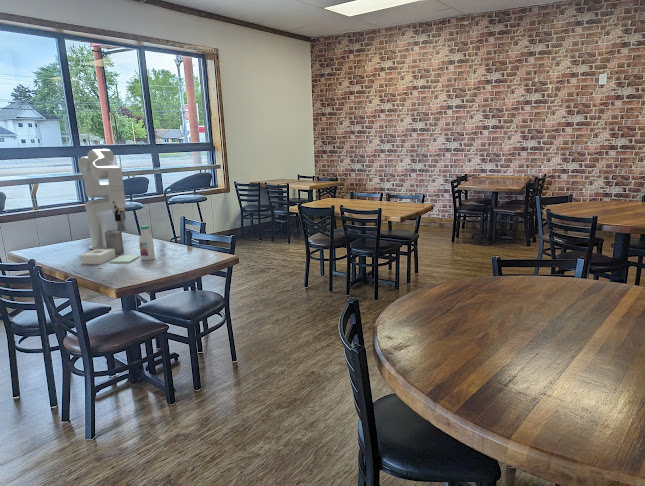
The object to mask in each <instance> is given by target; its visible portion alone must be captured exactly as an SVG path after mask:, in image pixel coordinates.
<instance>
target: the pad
mask: <svg viewBox="0 0 645 486" xmlns="http://www.w3.org/2000/svg"><path fill="white" fill-rule="evenodd" d="M139 258H141V254H138V255H137V254H133V255H127V254H125V255H119V256H117V257H114V258H112V259H110V260H108V263H109V264H131V263H132V262H134V261H136V260H138V259H139Z"/></svg>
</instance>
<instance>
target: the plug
mask: <svg viewBox="0 0 645 486" xmlns="http://www.w3.org/2000/svg"><path fill="white" fill-rule="evenodd" d="M116 209H117V208H116ZM119 210H120V215H121V221H115V222H116V228H117V229H116V230H117V231H121V232H125V231H126V229H127V228H126V223H125V221H126V218H125V219H124V210H126V208H125V209H124V208H121V209H119ZM117 211H118V210H117Z"/></svg>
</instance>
